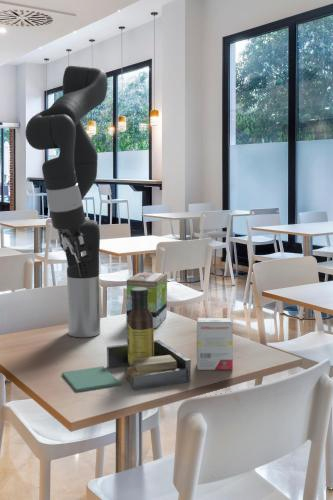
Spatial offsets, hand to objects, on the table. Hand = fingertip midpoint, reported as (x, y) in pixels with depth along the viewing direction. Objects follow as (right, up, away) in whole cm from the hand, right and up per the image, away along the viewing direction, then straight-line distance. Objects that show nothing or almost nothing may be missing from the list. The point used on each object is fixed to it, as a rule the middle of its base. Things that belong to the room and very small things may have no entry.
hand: (78, 270), depth 140 cm
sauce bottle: (+14, -24, +3) cm, 28 cm away
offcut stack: (+18, -25, -4) cm, 30 cm away
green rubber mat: (+3, -25, -4) cm, 25 cm away
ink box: (+32, -24, +5) cm, 40 cm away
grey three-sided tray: (+16, -24, 0) cm, 29 cm away
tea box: (+14, -18, +48) cm, 53 cm away
